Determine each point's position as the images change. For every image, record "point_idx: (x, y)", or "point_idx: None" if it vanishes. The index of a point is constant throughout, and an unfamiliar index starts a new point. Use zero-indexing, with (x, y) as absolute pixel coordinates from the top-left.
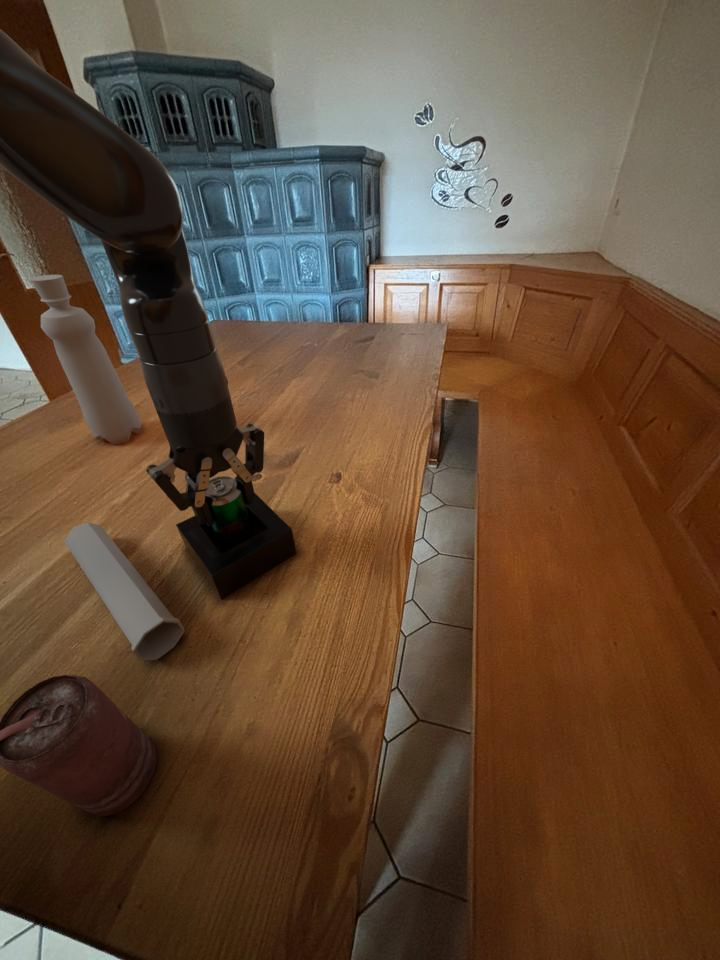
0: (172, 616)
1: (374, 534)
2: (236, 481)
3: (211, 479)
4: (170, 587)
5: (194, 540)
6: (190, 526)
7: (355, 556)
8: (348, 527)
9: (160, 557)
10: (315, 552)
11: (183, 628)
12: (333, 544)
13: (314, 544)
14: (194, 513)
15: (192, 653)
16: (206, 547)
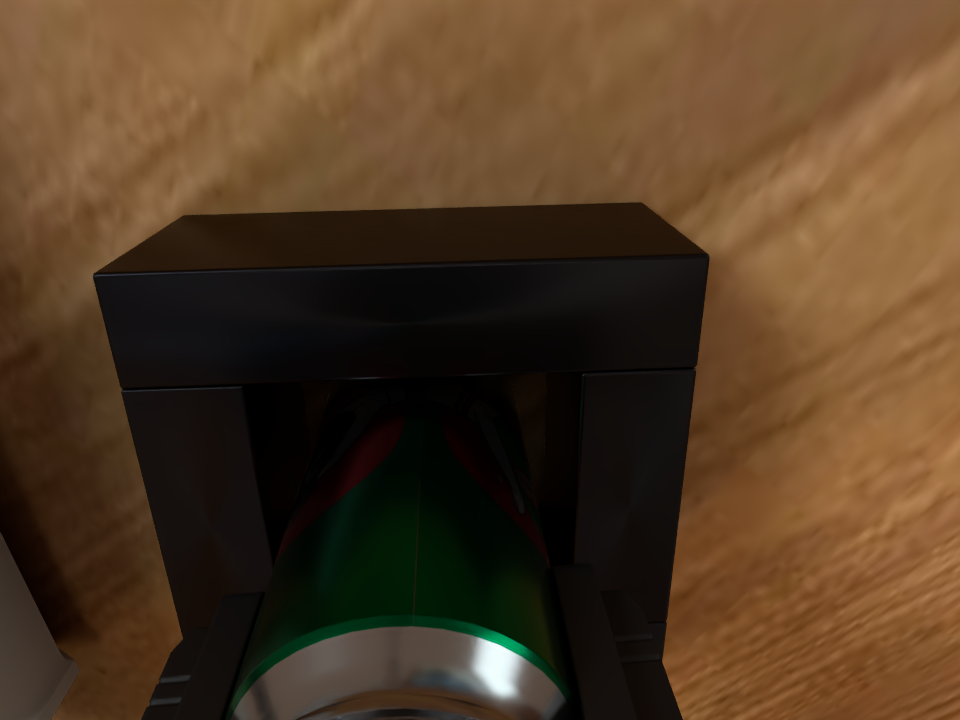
0: (20, 704)
1: (912, 653)
2: (582, 717)
3: (377, 716)
4: (62, 407)
5: (179, 483)
6: (183, 358)
7: (770, 688)
8: (879, 573)
9: (30, 182)
10: (676, 598)
11: (72, 682)
12: (760, 606)
13: (704, 565)
14: (156, 689)
15: (102, 690)
16: (229, 567)
